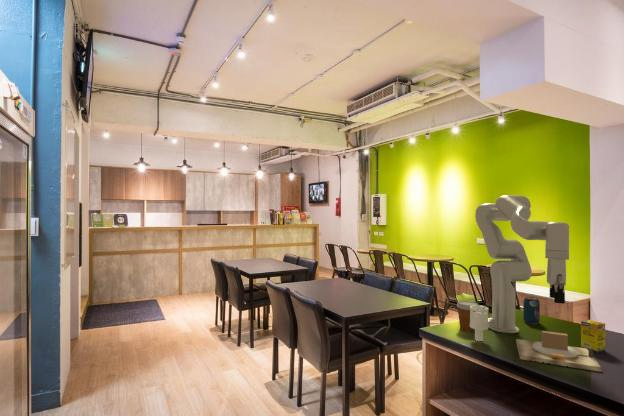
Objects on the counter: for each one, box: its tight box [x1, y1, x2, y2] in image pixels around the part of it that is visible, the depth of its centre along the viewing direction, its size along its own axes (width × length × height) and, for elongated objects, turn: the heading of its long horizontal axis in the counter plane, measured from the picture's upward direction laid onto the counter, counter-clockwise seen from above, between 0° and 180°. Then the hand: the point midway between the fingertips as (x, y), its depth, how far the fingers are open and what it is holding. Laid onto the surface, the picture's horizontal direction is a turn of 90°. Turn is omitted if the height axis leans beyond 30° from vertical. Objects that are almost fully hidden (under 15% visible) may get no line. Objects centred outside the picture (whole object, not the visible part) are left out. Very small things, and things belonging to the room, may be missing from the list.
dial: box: [533, 330, 577, 359], centre depth 141 cm, size 14×16×7 cm
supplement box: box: [580, 319, 606, 354], centre depth 149 cm, size 6×6×11 cm
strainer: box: [470, 304, 489, 342], centre depth 157 cm, size 7×7×15 cm
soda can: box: [522, 296, 541, 325], centre depth 186 cm, size 7×7×12 cm
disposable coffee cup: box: [456, 300, 479, 332], centre depth 173 cm, size 10×10×12 cm
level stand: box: [515, 338, 602, 372], centre depth 141 cm, size 24×20×4 cm
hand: (556, 300), depth 142 cm, fingers open, 9 cm apart
